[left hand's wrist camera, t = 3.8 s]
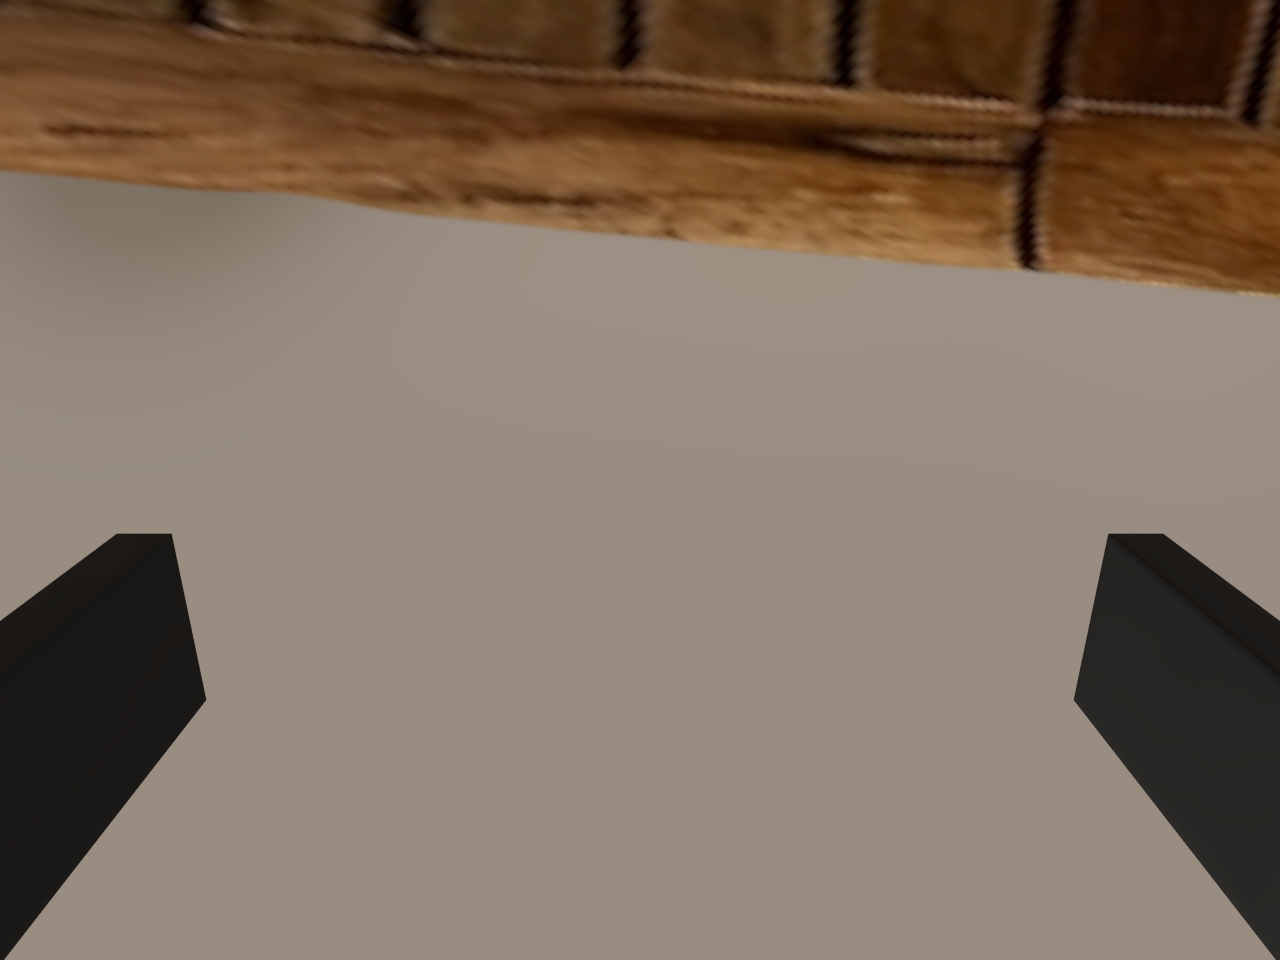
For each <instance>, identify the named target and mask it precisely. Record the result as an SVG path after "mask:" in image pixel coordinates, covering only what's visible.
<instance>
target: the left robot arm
mask: <svg viewBox="0 0 1280 960" xmlns="http://www.w3.org/2000/svg"><path fill="white" fill-rule="evenodd" d="M205 701H206V696H205V691H204V687H203V682H202V677H201V672H200V668H199V663H198V658H197V653H196V648H195V643H194V639H193V634H192V629H191V624H190V620H189V615H188V610H187V605H186V601H185V596H184V591H183V586H182V581H181V576H180V572H179V567H178V562H177V557H176V552H175V548H174V543H173V538H172V534H116V535H115V536H113V537H112V538H111V539H109V540H108V541H107V542H105V543H104V544H103V545H101V546H100V547H99V548H97V549H96V550H95V551H93V552H92V553H90V554H89V555H88V556H86V557H85V558H84V559H82V560H81V561H80V562H78V563H77V564H76V565H74V566H73V567H72V568H70V569H69V570H68V571H66V572H65V573H64V574H62V575H61V576H60V577H58V578H57V579H56V580H54V581H53V582H52V583H50V584H49V585H48V586H46V587H45V588H44V589H42V590H41V591H40V592H38V593H37V594H36V595H34V596H33V597H32V598H30V599H29V600H28V601H26V602H25V603H24V604H22V605H21V606H20V607H18V608H17V609H16V610H14V611H13V612H12V613H10V614H9V615H8V616H6V617H5V618H4V619H2V620H1V621H0V960H4V959H5V958H6V957H7V955H8V954H9V953H10V951H11V950H12V949H13V948H14V946H15V945H16V944H17V942H18V941H19V940H20V939H21V937H22V936H23V935H24V933H25V932H26V931H27V930H28V928H29V927H30V926H31V924H32V923H33V922H34V921H35V919H36V918H37V917H38V915H39V914H40V913H41V912H42V910H43V909H44V908H45V906H46V905H47V904H48V903H49V901H50V900H51V899H52V897H53V896H54V895H55V894H56V892H57V891H58V890H59V888H60V887H61V886H62V885H63V883H64V882H65V881H66V879H67V878H68V877H69V876H70V874H71V873H72V872H73V870H74V869H75V868H76V867H77V865H78V864H79V863H80V861H81V860H82V859H83V858H84V856H85V855H86V854H87V852H88V851H89V850H90V849H91V847H92V846H93V845H94V844H95V842H96V841H97V840H98V838H99V837H100V836H101V835H102V833H103V832H104V831H105V829H106V828H107V827H108V825H109V824H110V823H111V822H112V820H113V819H114V818H115V817H116V815H117V814H118V813H119V811H120V810H121V809H122V808H123V806H124V805H125V804H126V802H127V801H128V800H129V798H130V797H131V796H132V795H133V793H134V792H135V791H136V789H137V788H138V787H139V786H140V784H141V783H142V782H143V781H144V779H145V778H146V777H147V775H148V774H149V773H150V772H151V770H152V769H153V768H154V766H155V765H156V764H157V763H158V761H159V760H160V759H161V757H162V756H163V755H164V754H165V752H166V751H167V750H168V748H169V747H170V746H171V745H172V743H173V742H174V741H175V739H176V738H177V737H178V736H179V734H180V733H181V732H182V730H183V729H184V728H185V727H186V725H187V724H188V723H189V721H190V720H191V719H192V718H193V716H194V715H195V714H196V712H197V711H198V710H199V709H200V707H201V706H202V705H203V703H204V702H205ZM1074 701H1075V702H1076V703H1077V705H1078V706H1079V707H1080V709H1081V710H1082V711H1083V712H1084V714H1085V715H1086V716H1087V718H1088V719H1089V720H1090V721H1091V723H1092V724H1093V725H1094V727H1095V728H1096V729H1097V730H1098V732H1099V733H1100V734H1101V736H1102V737H1103V738H1104V739H1105V741H1106V742H1107V743H1108V744H1109V746H1110V747H1111V748H1112V750H1113V751H1114V752H1115V754H1116V755H1117V756H1118V757H1119V759H1120V760H1121V761H1122V763H1123V764H1124V765H1125V766H1126V768H1127V769H1128V770H1129V772H1130V773H1131V774H1132V775H1133V777H1134V778H1135V779H1136V781H1137V782H1138V783H1139V784H1140V786H1141V787H1142V788H1143V790H1144V791H1145V792H1146V793H1147V795H1148V796H1149V797H1150V798H1151V800H1152V801H1153V802H1154V804H1155V805H1156V806H1157V808H1158V809H1159V810H1160V811H1161V813H1162V814H1163V815H1164V816H1165V818H1166V819H1167V820H1168V822H1169V823H1170V824H1171V826H1172V827H1173V828H1174V829H1175V831H1176V832H1177V833H1178V834H1179V836H1180V837H1181V838H1182V840H1183V841H1184V842H1185V843H1186V845H1187V846H1188V847H1189V849H1190V850H1191V851H1192V852H1193V854H1194V855H1195V856H1196V858H1197V859H1198V860H1199V861H1200V863H1201V864H1202V865H1203V867H1204V868H1205V869H1206V870H1207V872H1208V873H1209V874H1210V876H1211V877H1212V878H1213V879H1214V881H1215V882H1216V883H1217V885H1218V886H1219V887H1220V888H1221V890H1222V891H1223V892H1224V894H1225V895H1226V896H1227V897H1228V899H1229V900H1230V901H1231V903H1232V904H1233V905H1234V906H1235V908H1236V909H1237V910H1238V912H1239V913H1240V914H1241V915H1242V917H1243V918H1244V919H1245V920H1246V922H1247V923H1248V924H1249V926H1250V927H1251V928H1252V930H1253V931H1254V932H1255V933H1256V935H1257V936H1258V937H1259V939H1260V940H1261V941H1262V942H1263V944H1264V945H1265V946H1266V948H1267V949H1268V950H1269V951H1270V953H1271V954H1272V955H1273V956H1274V958H1275V959H1276V960H1280V621H1279V620H1278V619H1276V618H1275V617H1274V616H1272V615H1271V614H1270V613H1268V612H1267V611H1266V610H1264V609H1263V608H1262V607H1260V606H1259V605H1258V604H1256V603H1255V602H1254V601H1252V600H1251V599H1250V598H1248V597H1247V596H1246V595H1244V594H1243V593H1242V592H1240V591H1239V590H1238V589H1236V588H1235V587H1234V586H1232V585H1231V584H1230V583H1228V582H1227V581H1226V580H1224V579H1223V578H1222V577H1220V576H1219V575H1218V574H1216V573H1215V572H1214V571H1212V570H1211V569H1210V568H1208V567H1207V566H1206V565H1204V564H1203V563H1202V562H1200V561H1199V560H1198V559H1196V558H1195V557H1194V556H1192V555H1191V554H1190V553H1188V552H1187V551H1186V550H1184V549H1183V548H1181V547H1180V546H1179V545H1177V544H1176V543H1175V542H1173V541H1172V540H1171V539H1169V538H1168V537H1167V536H1165V535H1164V534H1108V538H1107V543H1106V548H1105V552H1104V557H1103V562H1102V567H1101V572H1100V576H1099V581H1098V586H1097V591H1096V596H1095V600H1094V605H1093V610H1092V615H1091V620H1090V624H1089V629H1088V634H1087V639H1086V643H1085V648H1084V653H1083V658H1082V663H1081V667H1080V672H1079V677H1078V682H1077V687H1076V691H1075V696H1074Z"/></svg>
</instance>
